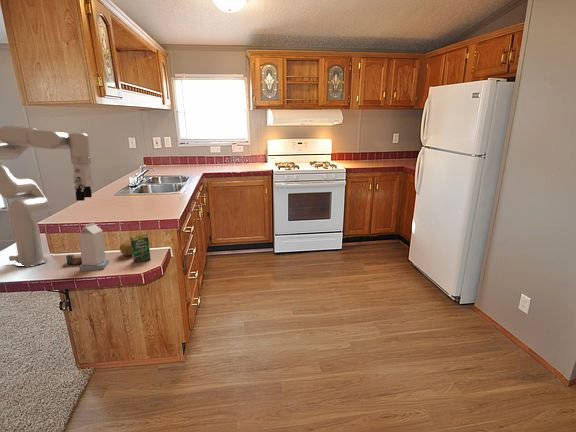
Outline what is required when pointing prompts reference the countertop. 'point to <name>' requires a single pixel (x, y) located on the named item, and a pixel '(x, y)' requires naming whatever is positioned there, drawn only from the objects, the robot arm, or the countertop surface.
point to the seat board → (94, 266)
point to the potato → (126, 248)
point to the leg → (73, 259)
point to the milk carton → (91, 245)
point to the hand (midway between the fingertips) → (84, 198)
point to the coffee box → (140, 248)
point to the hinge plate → (70, 265)
